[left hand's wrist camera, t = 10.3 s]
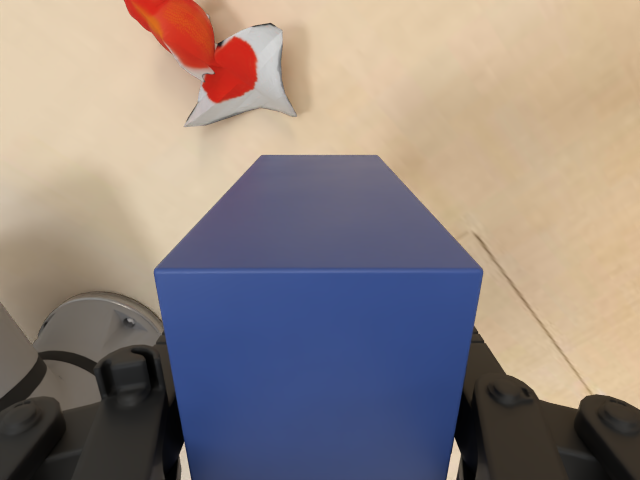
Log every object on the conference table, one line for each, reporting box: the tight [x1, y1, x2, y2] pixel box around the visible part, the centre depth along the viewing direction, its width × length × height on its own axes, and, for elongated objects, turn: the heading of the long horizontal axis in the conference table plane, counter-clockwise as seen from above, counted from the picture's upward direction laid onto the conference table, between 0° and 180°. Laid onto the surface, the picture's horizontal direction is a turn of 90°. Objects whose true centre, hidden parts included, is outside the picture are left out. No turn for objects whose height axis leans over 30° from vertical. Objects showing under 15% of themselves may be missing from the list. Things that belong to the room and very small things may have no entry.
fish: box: [124, 0, 297, 127], centre depth 31 cm, size 11×16×10 cm
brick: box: [154, 155, 483, 480], centre depth 12 cm, size 9×5×11 cm, turn 0°
